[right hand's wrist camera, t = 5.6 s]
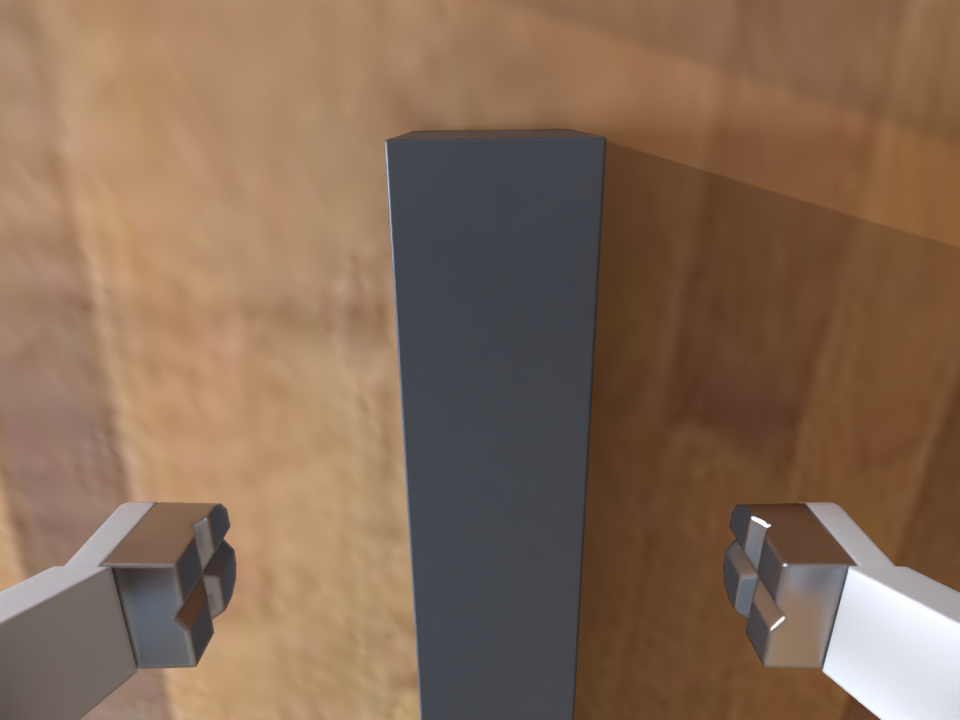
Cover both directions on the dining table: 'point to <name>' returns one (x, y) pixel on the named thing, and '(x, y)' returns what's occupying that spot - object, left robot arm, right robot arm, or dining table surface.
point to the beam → (496, 407)
